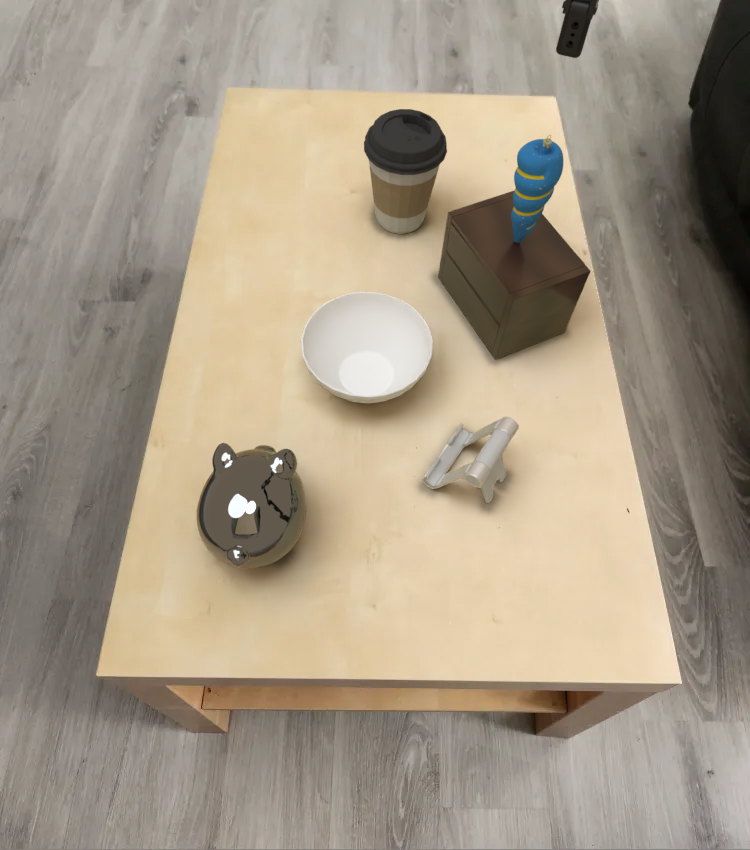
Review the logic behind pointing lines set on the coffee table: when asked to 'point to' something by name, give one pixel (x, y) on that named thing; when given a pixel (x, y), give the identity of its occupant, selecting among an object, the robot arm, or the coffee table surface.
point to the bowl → (366, 346)
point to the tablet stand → (484, 466)
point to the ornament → (534, 183)
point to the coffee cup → (403, 166)
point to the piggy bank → (251, 506)
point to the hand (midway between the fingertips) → (576, 28)
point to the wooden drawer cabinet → (509, 276)
